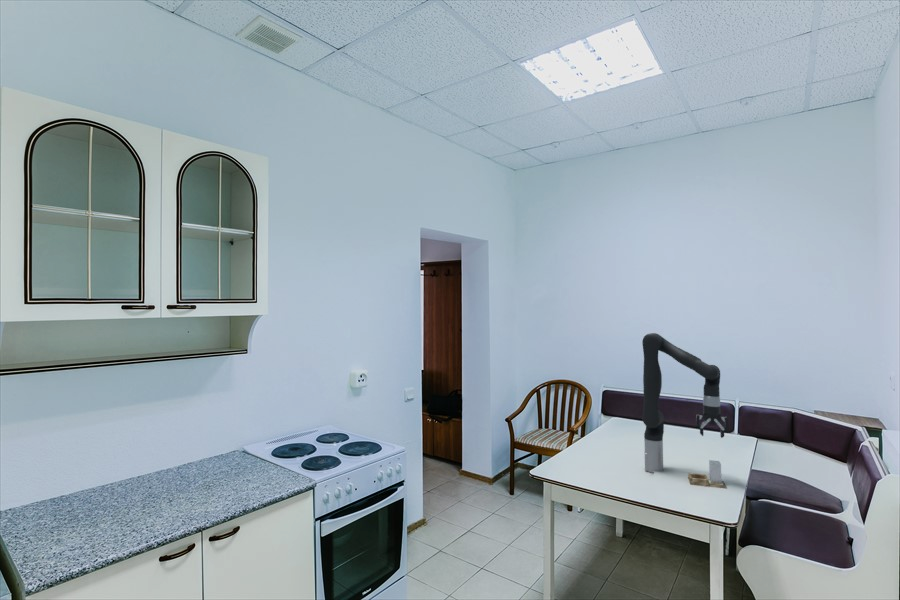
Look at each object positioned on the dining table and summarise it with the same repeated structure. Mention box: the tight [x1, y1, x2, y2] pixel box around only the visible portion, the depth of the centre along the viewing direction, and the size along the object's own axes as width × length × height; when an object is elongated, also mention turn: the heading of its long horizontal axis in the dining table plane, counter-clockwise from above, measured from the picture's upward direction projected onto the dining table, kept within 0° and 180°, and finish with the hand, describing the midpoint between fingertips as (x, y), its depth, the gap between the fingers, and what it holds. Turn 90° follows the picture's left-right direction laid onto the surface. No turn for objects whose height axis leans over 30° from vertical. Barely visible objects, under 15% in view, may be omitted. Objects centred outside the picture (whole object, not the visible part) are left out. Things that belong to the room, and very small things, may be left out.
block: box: [708, 459, 722, 484], centre depth 224 cm, size 4×4×10 cm
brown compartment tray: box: [687, 472, 728, 490], centre depth 224 cm, size 16×11×4 cm
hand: (712, 436), depth 227 cm, fingers open, 8 cm apart
